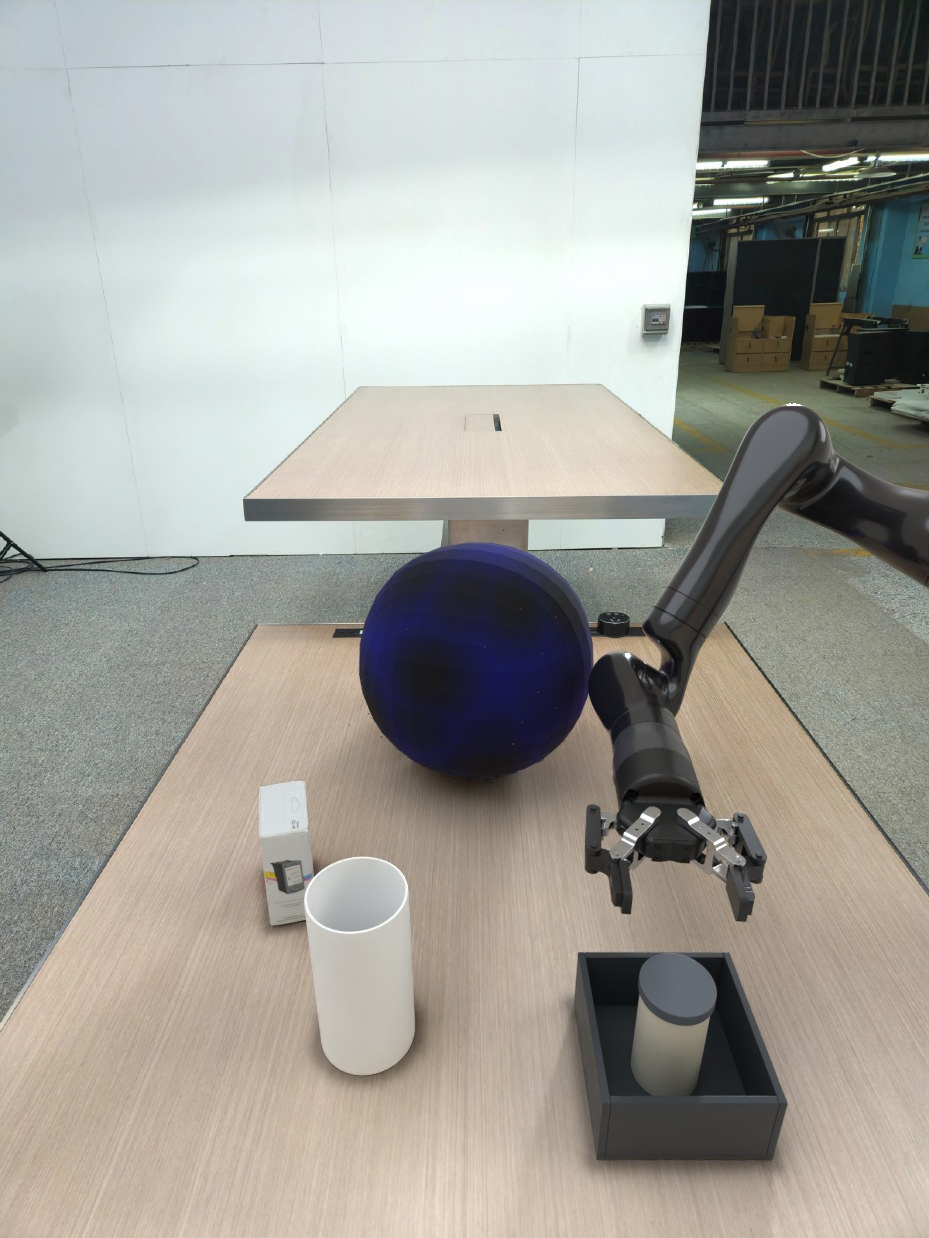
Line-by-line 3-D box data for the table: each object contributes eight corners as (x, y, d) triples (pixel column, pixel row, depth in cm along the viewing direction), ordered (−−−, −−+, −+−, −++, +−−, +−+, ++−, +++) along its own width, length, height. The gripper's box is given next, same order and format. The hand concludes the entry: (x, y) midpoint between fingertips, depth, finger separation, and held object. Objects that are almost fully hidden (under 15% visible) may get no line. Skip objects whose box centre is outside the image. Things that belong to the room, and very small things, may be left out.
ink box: (268, 869, 84) (255, 783, 79) (314, 861, 85) (304, 776, 80) (269, 929, 76) (255, 838, 71) (320, 920, 77) (309, 829, 72)
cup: (403, 1082, 62) (394, 940, 55) (307, 1067, 63) (287, 926, 56) (423, 996, 69) (418, 861, 62) (337, 984, 70) (323, 851, 63)
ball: (296, 791, 97) (269, 574, 84) (394, 678, 123) (384, 501, 111) (560, 850, 86) (574, 612, 74) (604, 713, 113) (619, 522, 101)
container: (689, 1036, 65) (704, 952, 60) (709, 1103, 59) (727, 1017, 55) (622, 1036, 65) (632, 952, 60) (636, 1103, 59) (648, 1017, 55)
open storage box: (719, 1004, 68) (729, 951, 65) (772, 1159, 56) (788, 1103, 53) (573, 1004, 68) (577, 951, 65) (596, 1159, 56) (602, 1103, 53)
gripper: (580, 742, 70) (592, 866, 55) (737, 748, 69) (792, 877, 54) (576, 806, 73) (586, 940, 58) (726, 814, 72) (774, 952, 57)
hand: (685, 909), depth 56 cm, fingers open, 8 cm apart
